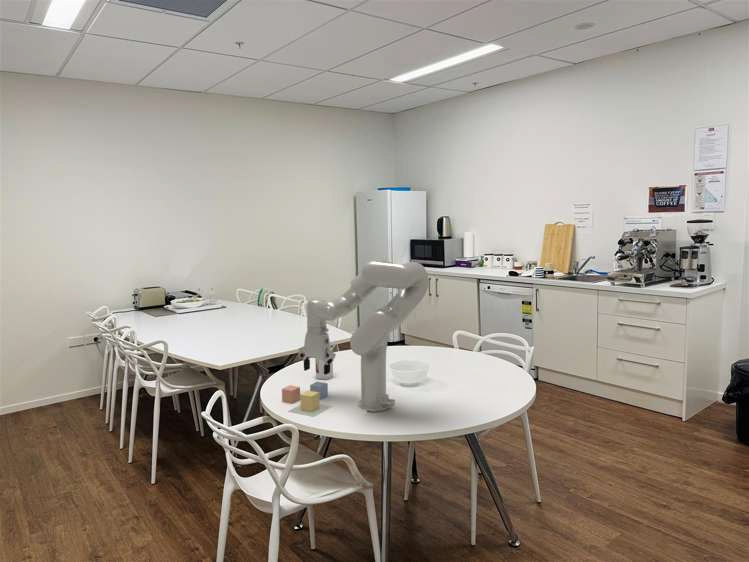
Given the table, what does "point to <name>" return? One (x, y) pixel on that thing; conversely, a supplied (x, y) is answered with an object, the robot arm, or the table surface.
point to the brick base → (309, 401)
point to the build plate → (312, 414)
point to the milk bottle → (320, 369)
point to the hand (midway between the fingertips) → (316, 371)
